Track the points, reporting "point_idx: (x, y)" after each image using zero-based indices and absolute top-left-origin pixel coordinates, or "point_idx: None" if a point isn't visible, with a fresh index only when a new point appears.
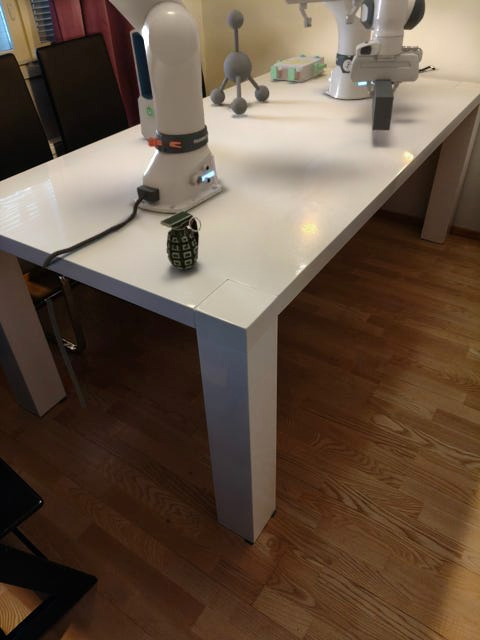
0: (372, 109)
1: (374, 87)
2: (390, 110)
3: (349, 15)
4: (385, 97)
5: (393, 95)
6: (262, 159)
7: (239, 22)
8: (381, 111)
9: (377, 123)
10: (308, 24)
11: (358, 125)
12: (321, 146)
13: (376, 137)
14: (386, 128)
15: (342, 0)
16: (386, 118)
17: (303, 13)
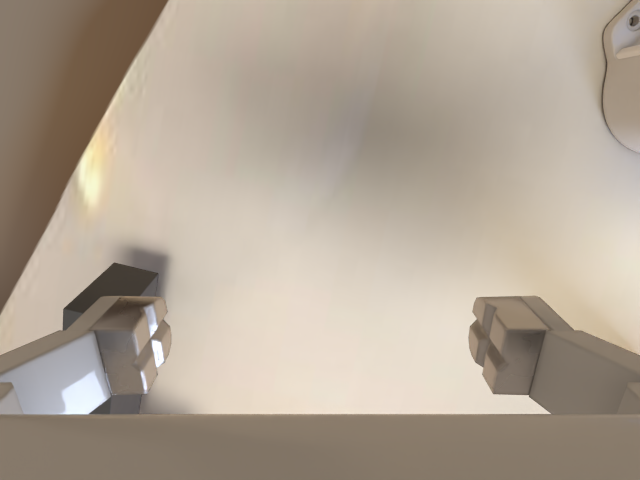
0: (137, 408)
1: None
2: (90, 289)
3: (118, 336)
4: None
5: (63, 325)
6: (448, 227)
7: None
8: (118, 293)
9: (140, 279)
10: (514, 300)
11: (180, 393)
12: (290, 282)
13: None
14: (120, 266)
15: (148, 414)
16: (110, 279)
17: (629, 355)
